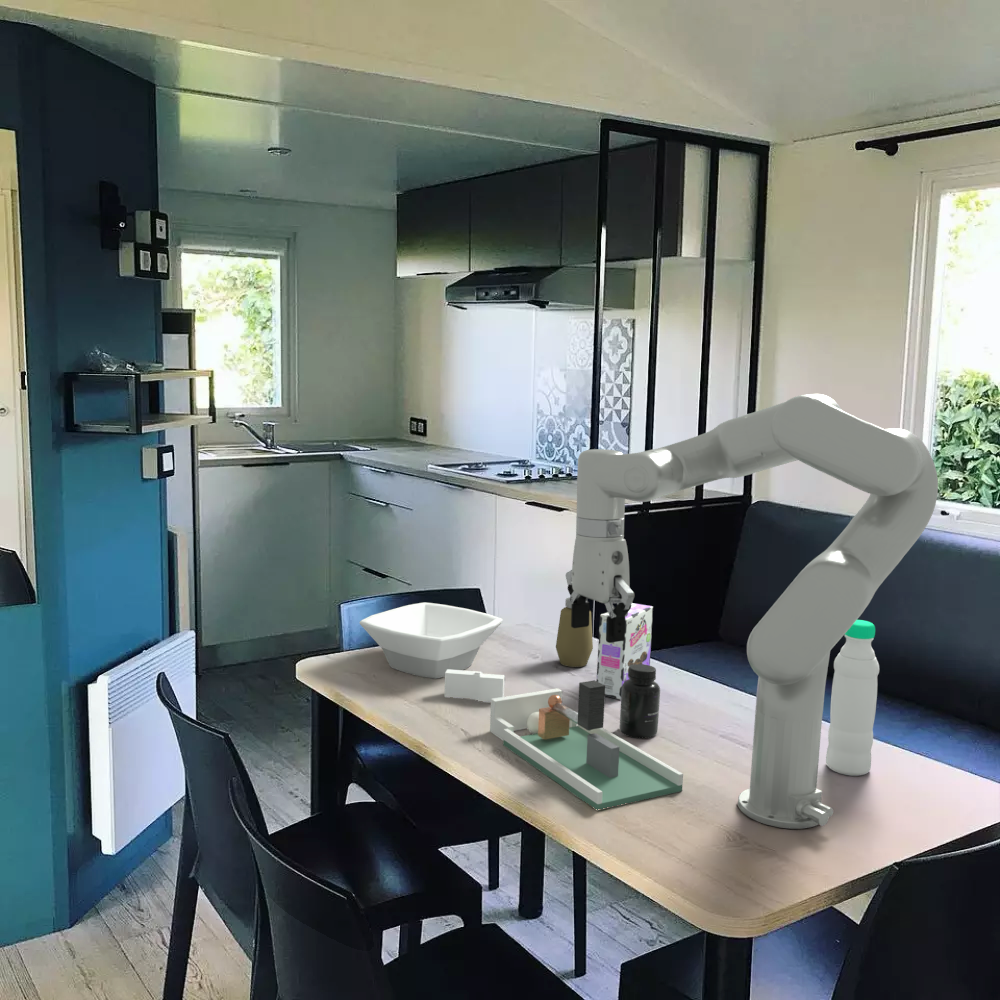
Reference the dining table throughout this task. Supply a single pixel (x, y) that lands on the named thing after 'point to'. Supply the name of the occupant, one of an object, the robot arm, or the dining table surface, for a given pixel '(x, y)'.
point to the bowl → (430, 637)
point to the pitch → (583, 756)
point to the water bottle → (853, 703)
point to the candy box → (624, 649)
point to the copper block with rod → (573, 712)
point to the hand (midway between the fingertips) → (597, 633)
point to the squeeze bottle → (573, 640)
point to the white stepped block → (473, 685)
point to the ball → (533, 722)
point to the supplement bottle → (640, 702)
